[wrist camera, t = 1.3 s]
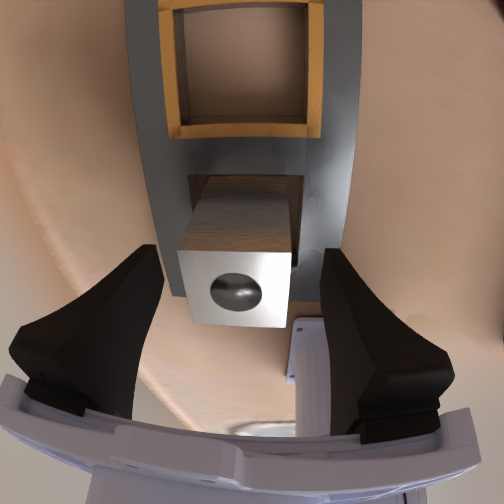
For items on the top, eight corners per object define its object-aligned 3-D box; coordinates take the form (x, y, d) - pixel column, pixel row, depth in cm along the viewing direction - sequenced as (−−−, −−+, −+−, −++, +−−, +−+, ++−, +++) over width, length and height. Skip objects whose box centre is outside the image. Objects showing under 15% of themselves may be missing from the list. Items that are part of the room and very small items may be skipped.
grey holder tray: (327, 284, 20) (329, 303, 18) (177, 280, 21) (171, 298, 19) (352, -18, 9) (362, -26, 8) (137, -9, 10) (122, -13, 8)
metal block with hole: (284, 239, 18) (285, 328, 13) (216, 238, 18) (193, 324, 13) (286, 176, 16) (291, 253, 10) (210, 176, 16) (176, 251, 11)
